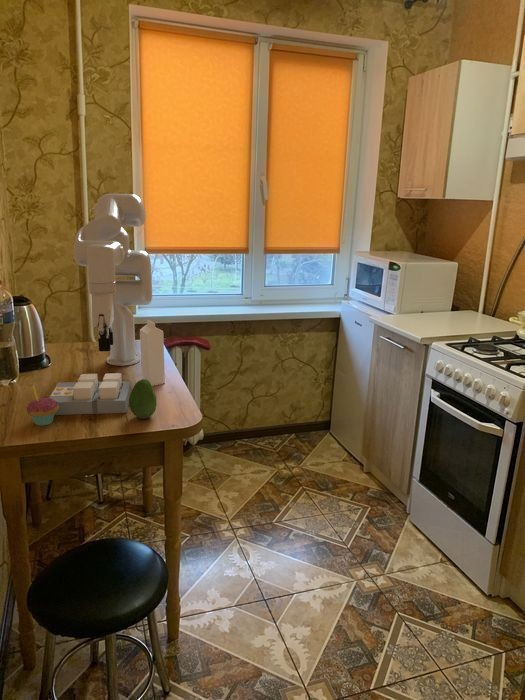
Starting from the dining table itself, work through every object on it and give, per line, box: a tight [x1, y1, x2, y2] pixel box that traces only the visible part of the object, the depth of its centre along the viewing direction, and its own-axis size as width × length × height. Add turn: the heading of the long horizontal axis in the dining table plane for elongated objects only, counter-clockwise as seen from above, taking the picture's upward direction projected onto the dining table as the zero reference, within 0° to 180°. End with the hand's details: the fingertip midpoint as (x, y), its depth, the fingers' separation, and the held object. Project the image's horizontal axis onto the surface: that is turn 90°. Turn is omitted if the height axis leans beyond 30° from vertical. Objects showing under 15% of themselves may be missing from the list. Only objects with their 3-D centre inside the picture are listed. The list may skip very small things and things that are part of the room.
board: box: [48, 380, 133, 416], centre depth 166 cm, size 16×23×4 cm
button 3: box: [102, 372, 123, 390], centre depth 170 cm, size 5×5×5 cm
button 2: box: [73, 381, 94, 400], centre depth 162 cm, size 5×5×5 cm
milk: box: [139, 319, 166, 387], centre depth 182 cm, size 6×6×22 cm
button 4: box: [99, 381, 119, 399], centre depth 163 cm, size 5×5×5 cm
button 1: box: [77, 373, 99, 390], centre depth 169 cm, size 5×5×5 cm
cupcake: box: [25, 383, 59, 426], centre depth 151 cm, size 9×8×12 cm
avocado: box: [128, 378, 158, 420], centre depth 156 cm, size 8×8×12 cm
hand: (106, 347), depth 158 cm, fingers open, 5 cm apart
